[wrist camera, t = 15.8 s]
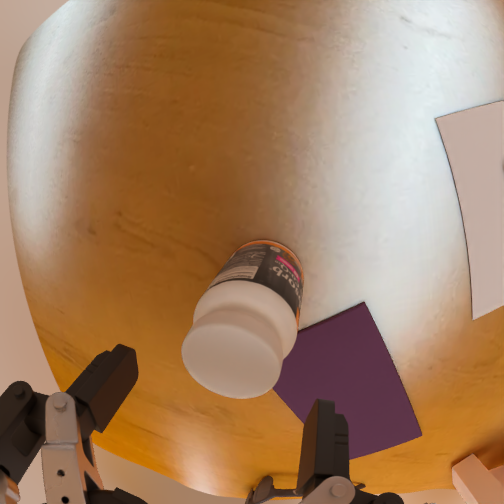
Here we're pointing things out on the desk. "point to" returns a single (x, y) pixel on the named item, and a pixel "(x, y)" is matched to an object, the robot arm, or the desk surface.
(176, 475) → the desk surface
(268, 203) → the desk surface
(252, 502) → the sunglasses
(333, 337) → the cloth
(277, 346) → the pill bottle
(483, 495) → the pile of blocks
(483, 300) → the paper stack
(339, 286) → the desk surface
